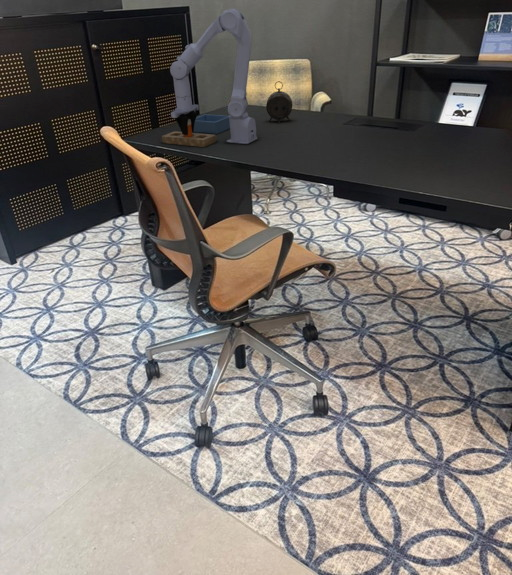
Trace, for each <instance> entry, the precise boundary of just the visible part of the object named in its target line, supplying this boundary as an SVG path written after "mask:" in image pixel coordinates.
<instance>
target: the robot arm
mask: <svg viewBox="0 0 512 575" xmlns="http://www.w3.org/2000/svg"><path fill="white" fill-rule="evenodd" d="M225 31H227V33H230V34H231V35H232V37H233V38H234V39H235V40H236V41H237V45H236V57H235V66H234V74H233V75H234V76H233V84H232V93H231V97H230V101H229V103H228V105H227V113H228V116H229V122H230V128H229V132H230V134H229V135H230V139H227V140H226V143H232V144H240V145H241V144H243V145H248V144H250V143H253V142H254V141H256V140H258V139H259V138H258V137H257V122H256V119H255V118H254V117H251V116H249V113H248V112H247V110H248V106H249V103H248V100H247V96H248V95H247V94H248V93H247V87H248V78H249V70H250V68H249V67H250V60H251V58H250V57H251V50H252V43H253V35H252V32H251V29H250V27H249V25H248V23H247V20H246V17H245V15H244V14H243V13H242V12H241V11H240V9H237V8H234V7H233V8H229V9H225V10H223V12H222V13H221V14H220V15H219V16H218V17H216V18H215V20H213V21H212V22H211V24H210V25H209V26H208V27H207V29H206V30H205V32H204V33H203V34H202V35H201V36H200V38H199V39H198V40H197V41H196V42H194V43H189V44H187V45H186V46H185V47H184V48H185V49H184V51H183V52H182V53H181V54H180V55H178V56H177V57H176V60H177V61H174V62H172V64H171V65H170V69H169V72H170V75H171V76H172V79H173V88H174V89H173V90H174V95H175V102H176V107H175V109H174V110H173V111H171V112H170V117H171V119H174V120H175V122H176V124H177V125H178V127H179V129H180V132H182V134H183V135H188V119H191V127H192V133H195V132H194V124H195V120H196V117H198V112H197V111H199V110H200V107H199V106H200V105H199V104H193V101H192V100H193V99H192V91H191V84H190V78H189V77H190V76H189V74H190V72H191V70H192V69H193V68H194V67H195V66H196V65H197V63H199V61H200V60H201V59H202V58H203V57H204V52H203V51H204V50H205V48H206V47H207V46H208V45H209V44H210V43H211V42H212V41H213V40H214V38H216V36H217V35H219V34H220V33H224V32H225Z"/></svg>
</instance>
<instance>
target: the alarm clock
mask: <svg viewBox="0 0 512 575" xmlns="http://www.w3.org/2000/svg"><path fill="white" fill-rule="evenodd" d="M278 83H280V84H281V87H280V88H277V87H276V85H277V84H278ZM283 87H284V84H283V82H282V81H275V83H274V89H276V90H277V91H274V92H273V93H271V94H270V95H269V96H268V98H267V100H266V105H265V110H266V113H267V114H268V115H269V117H270V119H269V120H268V121H269V122H271V120H277V121H278V122H277V123H281V120H284V119H287V120H288V121H289V122H290V121H291V119H290V117H289V116H290V115H291V113H292V111H293V100H292V98H291V96H290V95H289V93H287V92H285V91H281V90H282V89H283Z"/></svg>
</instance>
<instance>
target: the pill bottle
mask: <svg viewBox="0 0 512 575" xmlns="http://www.w3.org/2000/svg"><path fill="white" fill-rule="evenodd" d="M191 136H193V135H192V127H191V119H188V135H184V137H191Z"/></svg>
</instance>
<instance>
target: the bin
mask: <svg viewBox="0 0 512 575" xmlns="http://www.w3.org/2000/svg"><path fill="white" fill-rule="evenodd" d="M227 130H230V122H229V115H221V114H207V113H204V114H201V115H199V116H197V117H196V120H195V124H194V132H193V133H200V134H211V135H218V134H220V133H222V132H225V131H227Z"/></svg>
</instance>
